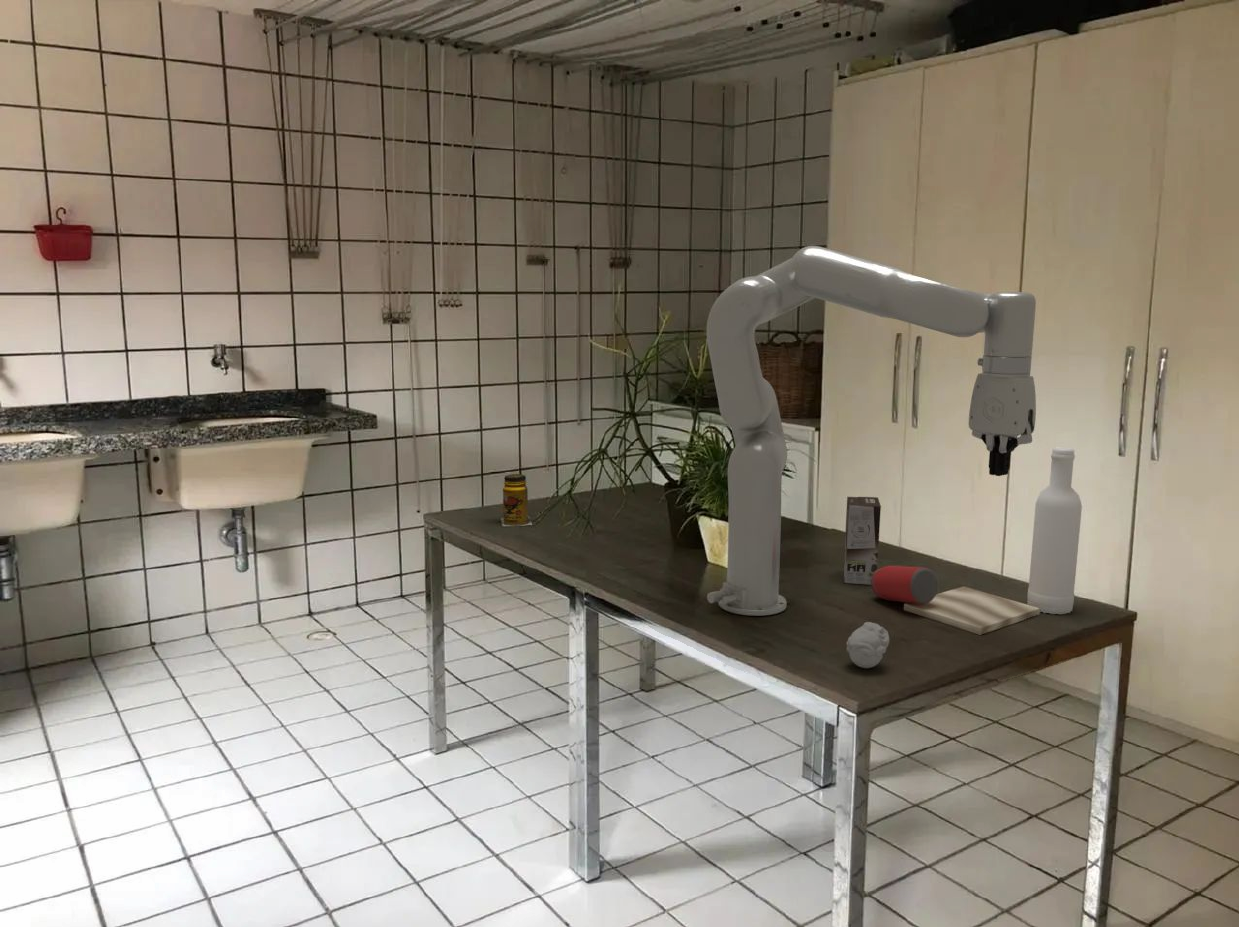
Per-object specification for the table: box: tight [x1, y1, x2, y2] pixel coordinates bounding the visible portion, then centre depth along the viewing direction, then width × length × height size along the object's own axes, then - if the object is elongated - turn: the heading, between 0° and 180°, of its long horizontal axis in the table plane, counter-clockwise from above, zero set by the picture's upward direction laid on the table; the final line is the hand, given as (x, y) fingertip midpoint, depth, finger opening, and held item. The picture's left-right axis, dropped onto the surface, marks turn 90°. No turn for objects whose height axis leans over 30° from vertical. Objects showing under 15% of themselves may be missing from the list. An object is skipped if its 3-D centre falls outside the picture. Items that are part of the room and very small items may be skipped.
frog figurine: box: [846, 621, 890, 669], centre depth 156 cm, size 6×7×7 cm
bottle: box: [1026, 446, 1083, 615], centre depth 182 cm, size 8×8×30 cm
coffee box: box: [843, 496, 882, 586], centre depth 202 cm, size 9×6×16 cm
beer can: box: [870, 565, 939, 604], centre depth 185 cm, size 7×7×12 cm
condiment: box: [500, 473, 533, 527], centre depth 247 cm, size 7×8×12 cm
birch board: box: [903, 585, 1041, 636], centre depth 182 cm, size 18×16×1 cm
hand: (998, 474), depth 170 cm, fingers closed
